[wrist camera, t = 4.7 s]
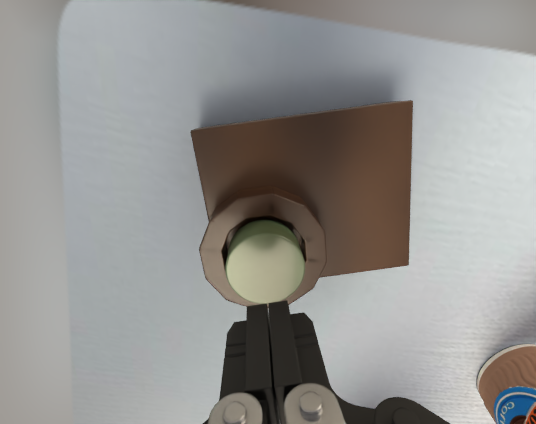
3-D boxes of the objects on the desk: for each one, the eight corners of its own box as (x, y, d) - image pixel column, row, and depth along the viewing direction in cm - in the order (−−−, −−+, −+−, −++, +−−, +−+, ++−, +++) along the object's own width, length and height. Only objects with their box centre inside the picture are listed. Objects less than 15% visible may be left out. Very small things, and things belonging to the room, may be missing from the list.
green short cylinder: (234, 287, 18) (232, 309, 16) (222, 224, 16) (218, 239, 14) (302, 278, 18) (308, 299, 16) (296, 214, 16) (301, 228, 14)
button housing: (221, 276, 22) (213, 316, 18) (191, 128, 19) (172, 134, 14) (390, 253, 22) (423, 287, 18) (391, 101, 19) (432, 98, 14)
